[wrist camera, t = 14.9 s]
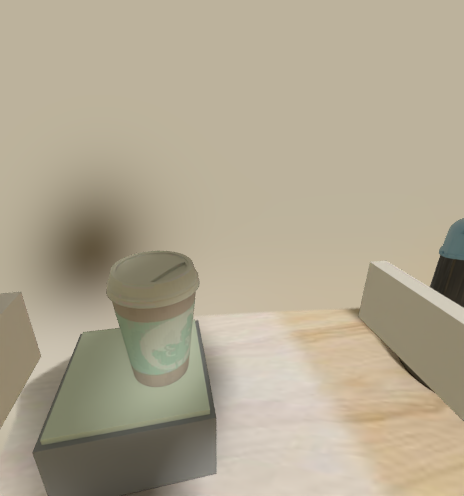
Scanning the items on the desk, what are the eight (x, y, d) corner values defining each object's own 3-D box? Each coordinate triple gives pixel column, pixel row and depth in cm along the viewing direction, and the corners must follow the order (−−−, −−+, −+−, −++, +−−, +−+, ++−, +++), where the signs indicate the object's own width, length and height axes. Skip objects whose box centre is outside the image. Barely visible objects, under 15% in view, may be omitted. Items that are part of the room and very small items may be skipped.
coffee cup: (130, 414, 26) (113, 298, 21) (112, 355, 33) (96, 258, 28) (215, 377, 30) (215, 273, 26) (183, 331, 37) (179, 243, 32)
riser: (199, 365, 43) (198, 316, 40) (216, 473, 29) (216, 413, 26) (90, 381, 40) (79, 330, 37) (53, 511, 26) (30, 447, 23)
